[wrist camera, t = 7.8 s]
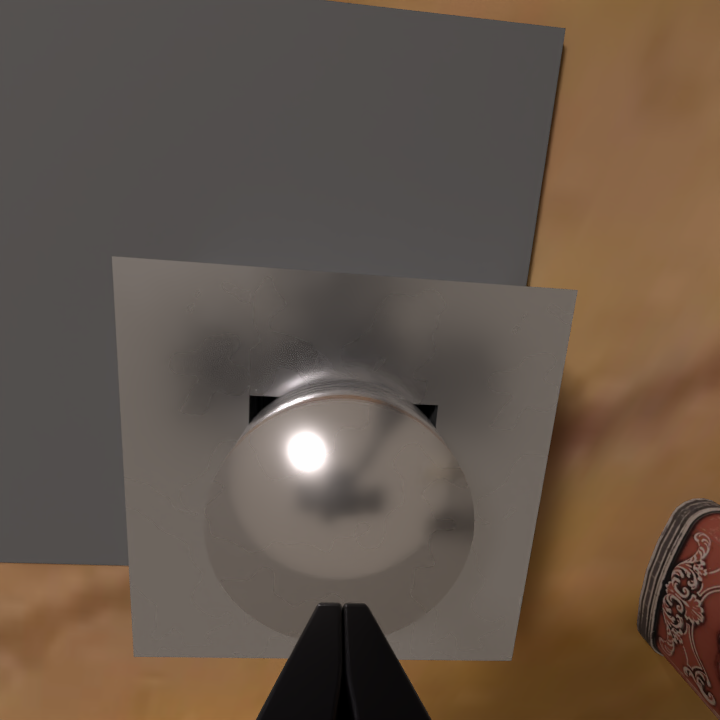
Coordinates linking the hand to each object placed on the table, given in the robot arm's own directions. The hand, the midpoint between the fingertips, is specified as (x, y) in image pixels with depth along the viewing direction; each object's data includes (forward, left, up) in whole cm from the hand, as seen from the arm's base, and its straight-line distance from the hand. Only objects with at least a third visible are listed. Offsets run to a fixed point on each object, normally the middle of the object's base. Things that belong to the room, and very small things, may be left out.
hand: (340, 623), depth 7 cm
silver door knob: (0, 0, -9) cm, 9 cm away
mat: (+4, -4, -10) cm, 11 cm away
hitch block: (0, 0, -10) cm, 10 cm away
